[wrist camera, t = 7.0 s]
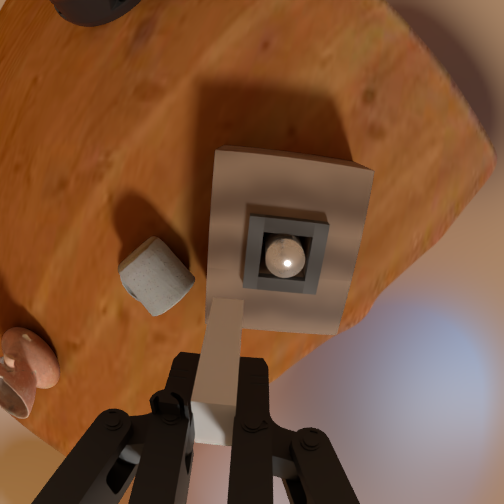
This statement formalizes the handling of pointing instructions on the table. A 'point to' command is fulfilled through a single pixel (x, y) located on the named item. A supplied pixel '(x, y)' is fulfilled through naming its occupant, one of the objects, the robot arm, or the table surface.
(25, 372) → the ceramic jug
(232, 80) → the table surface
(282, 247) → the peg
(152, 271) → the ceramic mug
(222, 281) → the socket block
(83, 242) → the table surface
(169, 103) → the table surface
